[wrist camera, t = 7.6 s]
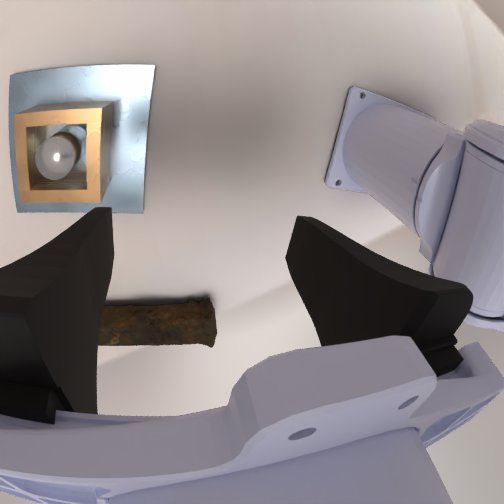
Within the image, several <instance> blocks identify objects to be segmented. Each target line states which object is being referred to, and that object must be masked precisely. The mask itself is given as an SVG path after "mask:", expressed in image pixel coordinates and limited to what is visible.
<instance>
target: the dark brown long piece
mask: <svg viewBox="0 0 504 504" xmlns="http://www.w3.org/2000/svg"><path fill="white" fill-rule="evenodd" d="M216 335H217V329H216V318H215V309H214V308H213V305H212V303H211V301H210V299H209V298H207V299H206V300H204V301H202V302H200V303H197V302H196V301H194V300H191V299H190V300H188V302H187V303H185V304H177V305H156V306H133V305H130V304H129V305H127V306H107V307H104V309H103V313H102V317H101V322H100V328H99V337H98V346H134V345H136V346H137V345H157V346H158V345H174V344H175V345H183V344H197V343H199V344H203V345H207V346H209V347H213V345H214V343H215V337H216Z"/></svg>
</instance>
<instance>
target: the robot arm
mask: <svg viewBox="0 0 504 504" xmlns="http://www.w3.org/2000/svg"><path fill="white" fill-rule="evenodd" d="M360 93H363V97H362V98H360ZM337 180H339V183H338V184H336V181H337ZM325 183H326V185H327V186H328V187H330V188H335V189H342V190H349V191H355V192H362V193H368V194H370V195H371V196H372V197H373V198H375V199H376V200H377V201H378V202H379V203H381V204H382V205H383V206H384V207H385V208H386V209H388V210H389V211H390V212H391V213H392V214H393V215H395V216H396V217H397V218H398V219H399V220H400V221H401V222H403V223H404V224H405V225H406V226H407V227H408V228H409V229H410V230H412V231H413V232H414V233H415V234H416V235H417V236H418V237H419V238H420V241H421V244H420V249H419V252H420V253H421V254H422V255H423V256H424V257H425V258H426V259H427V260H428V261H429V262H430V263H431V264H430V266H429V269H428V274H425V273H422V272H419V271H416V270H413V269H411V268H408V267H406V266H403V265H400V264H398V263H396V262H393V261H391V260H389V259H387V258H385V257H383V256H381V255H378V254H377V253H375V252H373V251H371V250H369V249H367V248H366V247H364V246H362V245H360V244H358V243H357V242H355V241H353V240H352V239H350V238H348V237H347V236H345V235H343V234H342V233H340V232H338V231H337V230H335V229H333V228H332V227H330V226H328V225H327V224H325V223H323V222H321V221H319V220H317V219H315V218H312V217H306V216H297V218H296V222H295V225H294V229H293V233H292V236H291V240H290V243H289V247H288V250H287V254H286V257H285V258H286V262H287V265H288V269H289V272H290V275H291V278H292V280H293V282H294V284H295V286H296V288H297V290H298V292H299V294H300V296H301V298H302V300H303V302H304V304H305V307H306V309H307V311H308V313H309V315H310V317H311V318H312V321H313V323H314V326H315V328H316V331H317V334H318V337H319V340H320V343H321V346H322V347H314V348H306V349H297V350H293V351H289V352H286V353H281V354H277V355H274V356H270V357H268V358H266V359H265V360H263V361H261V362H259V363H258V364H256V365H254V366H252V367H251V368H249V369H247V370H246V371H245V373H244V374H243V375H242V376H241V378H240V379H239V381H238V382H237V383H236V384H235V386H234V387H233V389H232V392H231V396H230V399H229V403H228V405H227V406H223V407H219V408H214V409H210V410H205V411H201V412H196V413H191V414H186V415H180V416H116V415H98V413H97V387H96V386H97V385H96V384H97V382H96V380H97V377H96V375H97V350H98V337H99V328H100V322H101V317H102V313H103V309H104V304H105V300H106V296H107V292H108V288H109V284H110V280H111V275H112V268H113V260H114V243H113V226H112V207H95V208H94V209H92V210H91V211H89V212H88V213H87V214H86V215H84V216H83V217H82V218H81V219H79V220H78V221H77V222H75V223H74V224H73V225H72V226H70V227H69V228H68V229H66V230H65V231H64V232H62V233H61V234H59V235H58V236H57V237H55V238H54V239H53V240H51V241H50V242H48V243H47V244H45V245H44V246H42V247H40V248H39V249H37V250H35V251H34V252H32V253H30V254H29V255H27V256H25V257H23V258H21V259H19V260H17V261H15V262H13V263H11V264H9V265H7V266H4V267H2V268H0V491H1V492H4V493H7V494H9V495H12V496H15V497H19V498H22V499H25V500H29V501H32V502H35V503H39V504H453V502H452V500H451V498H450V496H449V494H448V492H447V490H446V488H445V486H444V484H443V482H442V480H441V478H440V476H439V474H438V472H437V470H436V468H435V466H434V464H433V462H432V460H431V458H430V456H429V454H428V452H427V450H426V447H428V446H430V445H432V444H433V443H435V442H436V441H438V440H440V439H441V438H443V437H445V436H446V435H448V434H449V433H451V432H452V431H454V430H456V429H457V428H459V427H460V426H462V425H463V424H465V423H466V422H468V421H469V420H471V419H472V418H473V417H474V416H475V415H476V414H478V413H479V412H480V411H481V410H482V409H483V408H484V407H485V406H487V405H488V404H489V403H490V402H491V401H492V400H493V399H494V398H495V397H496V396H497V395H498V394H499V393H500V392H501V391H502V390H503V389H504V377H503V376H502V374H501V373H500V371H499V370H498V369H497V367H496V366H495V364H494V363H493V362H492V360H491V359H490V358H489V356H488V355H487V354H486V352H485V351H484V349H483V348H482V347H481V346H480V344H479V343H478V342H474V343H472V344H469V345H466V346H464V347H462V348H461V349H460V350H457V349H456V348H455V346H454V345H455V344H456V343H457V339H456V337H455V336H454V333H455V332H456V330H457V329H458V328H459V326H460V325H461V323H462V322H464V323H467V324H470V325H472V326H476V327H481V328H490V329H496V330H499V331H502V332H504V126H501V125H498V124H495V123H492V122H489V121H485V120H477V121H475V122H473V123H472V124H468V125H466V128H465V133H463V132H461V131H459V130H456V129H454V128H452V127H449V126H447V125H445V124H442V123H440V122H438V121H437V120H436V119H435V118H433V117H431V116H429V115H426V114H424V113H422V112H420V111H417V110H415V109H413V108H411V107H408V106H406V105H404V104H401V103H399V102H396V101H394V100H391V99H389V98H386V97H383V96H381V95H378V94H375V93H373V92H370V91H367V90H364V89H361V88H358V87H352V88H351V89H350V90H349V93H348V97H347V101H346V105H345V109H344V113H343V117H342V121H341V125H340V128H339V132H338V136H337V140H336V143H335V147H334V151H333V154H332V158H331V162H330V165H329V169H328V172H327V176H326V179H325Z"/></svg>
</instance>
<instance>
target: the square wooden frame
mask: <svg viewBox="0 0 504 504" xmlns="http://www.w3.org/2000/svg"><path fill="white" fill-rule="evenodd" d="M113 103H114V101H95V102H72V103H57V104H45V105H36V106H34V107H31V108H29V109H26V110H24V111H21V112H19V113H17V114H15V149H16V163H17V174H18V183H19V191H20V199H21V203H101V201H102V199H103V197H104V195H105V192H106V190H107V188H108V186H109V184H110V161H111V132H112V116H113ZM81 123H87V137H86V170H87V171H70V172H69V173H68V174H67V175H66V176H65V177H63V178H61V179H58V180H51V179H48V178H46V177H44V176H43V175H42V174H41V173H40V172H39V170H38V169H37V166H36V161H35V156H36V152H37V149H38V147H39V146H40V145H41V143H43V142H44V141H45V140H47V125H59V124H81Z"/></svg>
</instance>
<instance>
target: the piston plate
mask: <svg viewBox="0 0 504 504" xmlns="http://www.w3.org/2000/svg"><path fill="white" fill-rule="evenodd" d="M155 66H156V65H92V66H76V67H64V68H55V69H46V70H38V71H31V72H25V73H19V74H13V75H10V85H9V142H10V158H11V169H12V179H13V187H14V195H15V201H16V208H17V213H24V212H87V213H88V212H89V211H91V210H92V209H94V208H95V207H112V213H141V214H143V210H144V181H145V162H146V147H147V135H148V124H149V113H150V104H151V96H152V88H153V80H154V73H155ZM95 101H114V103H113V116H112V132H111V161H110V184H109V186H108V188H107V190H106V192H105V195H104V197H103V199H102V201H101V203H21V199H20V191H19V183H18V174H17V163H16V149H15V114H17V113H19V112H21V111H24V110H26V109H29V108H31V107H34V106H36V105H45V104H57V103H72V102H95ZM86 137H87V123H81V124H59V125H47V140H45V141H44V142H43V143H41V145H40V146H39V147H38V149H37V152H36V156H35V161H36V166H37V169H38V170H39V172H40V173H41V174H42V175H43V176H44V177H46V178H48V179H51V180H58V179H61V178H63V177H65V176H66V175H67V174H68V173H69V172H70V171H87V170H86Z"/></svg>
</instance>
